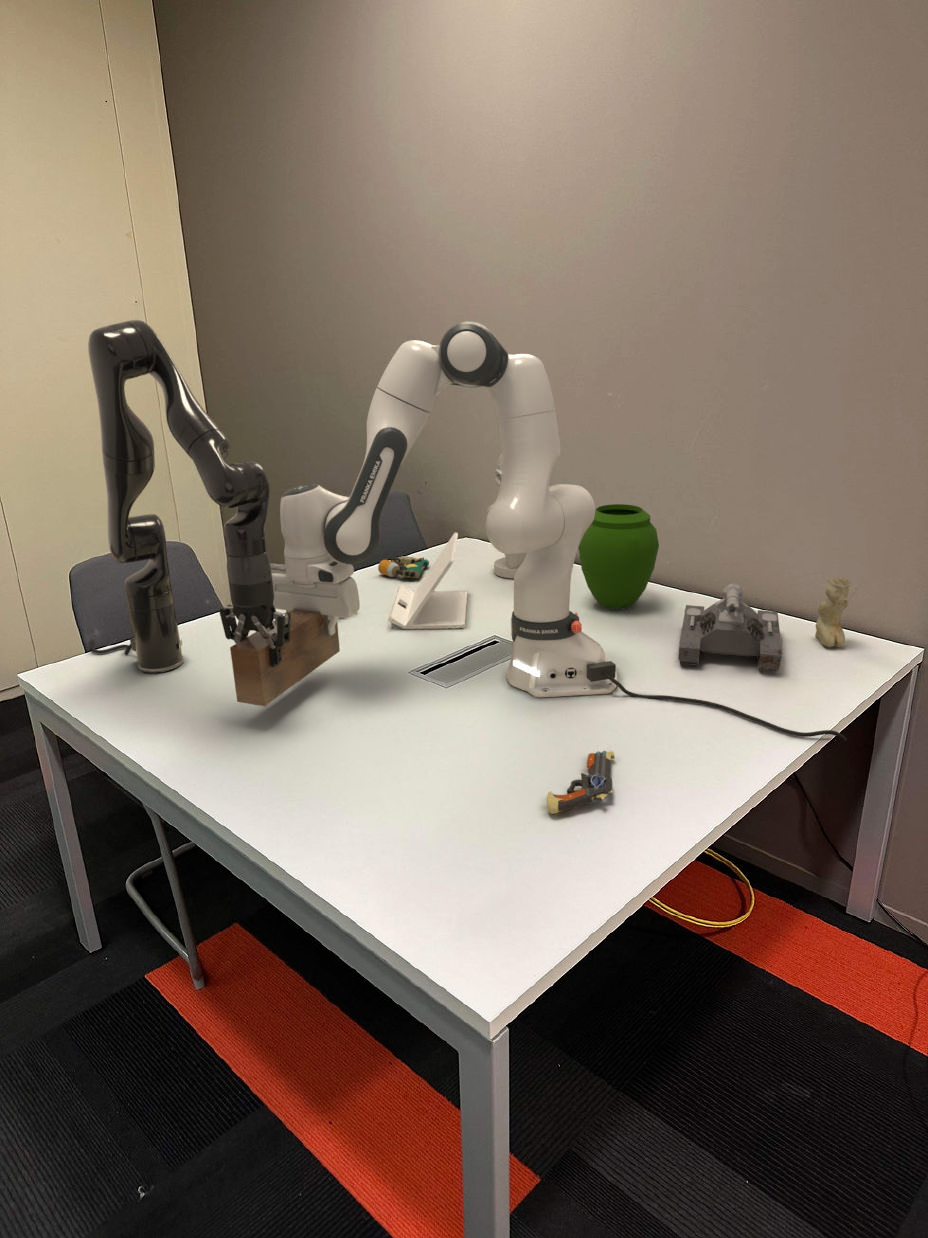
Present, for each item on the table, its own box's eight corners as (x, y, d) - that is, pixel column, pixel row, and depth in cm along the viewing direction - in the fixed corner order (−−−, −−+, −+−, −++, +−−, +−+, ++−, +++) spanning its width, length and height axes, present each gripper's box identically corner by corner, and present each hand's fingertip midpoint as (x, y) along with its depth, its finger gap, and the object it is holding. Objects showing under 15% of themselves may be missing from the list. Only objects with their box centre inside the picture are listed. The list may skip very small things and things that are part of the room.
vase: (599, 587, 227) (601, 497, 218) (668, 600, 216) (673, 505, 208) (562, 608, 212) (564, 513, 204) (634, 623, 202) (639, 523, 193)
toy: (684, 625, 200) (688, 563, 194) (774, 632, 194) (781, 569, 189) (677, 668, 177) (681, 599, 172) (779, 677, 172) (787, 607, 166)
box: (314, 647, 180) (310, 599, 176) (339, 651, 178) (335, 602, 174) (237, 701, 157) (229, 647, 153) (264, 706, 154) (258, 651, 151)
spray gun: (398, 563, 255) (442, 570, 249) (369, 576, 241) (416, 584, 235) (398, 549, 254) (443, 556, 248) (369, 561, 239) (416, 569, 233)
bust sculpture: (503, 593, 225) (502, 460, 212) (483, 567, 247) (480, 445, 234) (562, 587, 228) (563, 456, 215) (536, 562, 250) (536, 441, 237)
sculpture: (821, 649, 184) (830, 583, 179) (808, 637, 191) (816, 573, 185) (848, 649, 184) (858, 582, 179) (834, 636, 191) (843, 572, 185)
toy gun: (544, 802, 127) (611, 800, 125) (554, 748, 145) (614, 745, 143) (546, 819, 128) (613, 817, 126) (556, 762, 146) (615, 760, 144)
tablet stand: (467, 593, 225) (465, 531, 219) (465, 628, 202) (462, 559, 196) (399, 594, 226) (395, 532, 220) (388, 629, 203) (384, 560, 197)
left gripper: (203, 578, 150) (215, 666, 156) (272, 586, 145) (282, 676, 151) (229, 566, 157) (240, 651, 163) (296, 573, 152) (305, 660, 158)
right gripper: (254, 566, 169) (262, 631, 174) (344, 576, 162) (350, 643, 167) (272, 558, 175) (279, 621, 180) (360, 566, 168) (365, 632, 172)
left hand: (260, 662), depth 157 cm, fingers closed on box, 6 cm apart
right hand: (314, 632), depth 173 cm, fingers closed on box, 6 cm apart
